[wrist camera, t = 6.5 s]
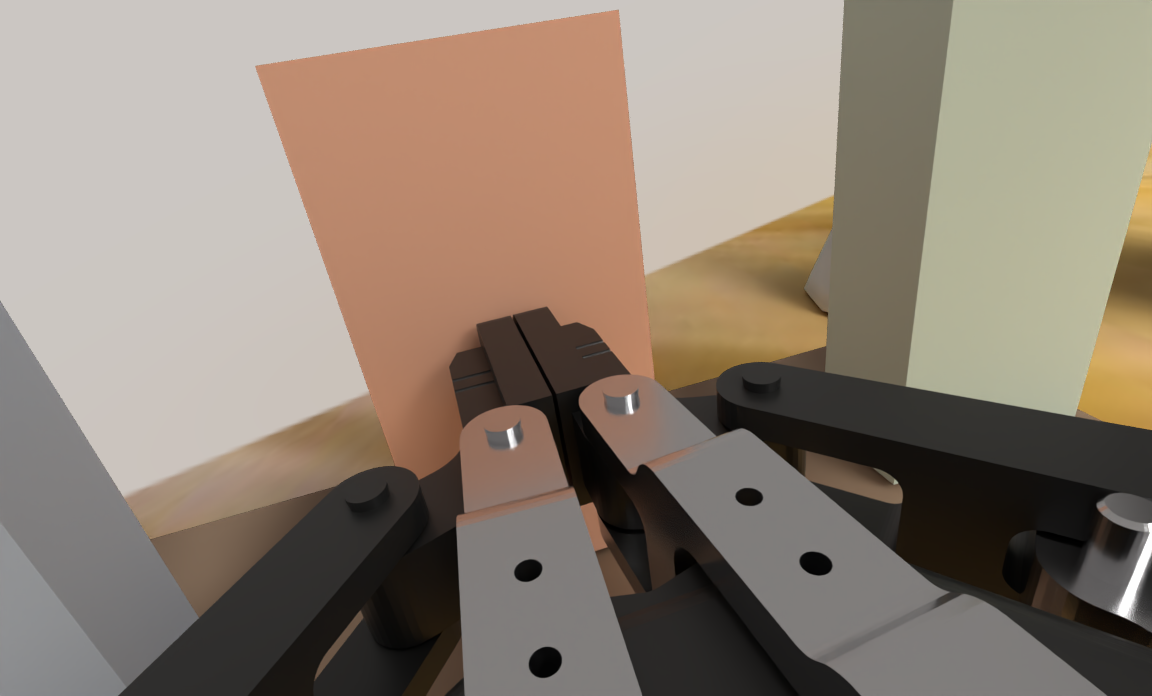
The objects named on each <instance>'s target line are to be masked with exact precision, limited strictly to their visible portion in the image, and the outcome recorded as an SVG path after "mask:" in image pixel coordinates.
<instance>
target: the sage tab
mask: <svg viewBox="0 0 1152 696" xmlns="http://www.w3.org/2000/svg"><path fill="white" fill-rule="evenodd" d="M841 56H842V57H841V75H840V93H839V113H838V132H837V152H836V171H835V191H834V210H833V229H832V248H831V268H830V287H829V306H828V326H827V345H826V364H825V372H827V373H833V374H839V375H844V376H850V377H855V378H861V379H867V380H872V381H878V382H883V383H889V384H895V385H900V386H906V387H911V388H917V389H923V390H928V391H934V392H940V393H945V394H951V395H956V396H962V397H968V398H973V399H979V400H984V401H990V402H996V403H1001V404H1007V405H1013V406H1018V407H1024V408H1029V409H1035V410H1041V411H1046V412H1052V413H1057V414H1063V415H1069V416H1074V417H1075V415H1076V411H1077V408H1078V404H1079V400H1080V397H1081V393H1082V390H1083V386H1084V383H1085V379H1086V375H1087V372H1088V368H1089V365H1090V361H1091V358H1092V354H1093V350H1094V347H1095V343H1096V340H1097V336H1098V332H1099V329H1100V325H1101V322H1102V318H1103V315H1104V311H1105V307H1106V304H1107V300H1108V297H1109V293H1110V290H1111V286H1112V282H1113V279H1114V275H1115V272H1116V268H1117V265H1118V261H1119V257H1120V254H1121V250H1122V247H1123V243H1124V240H1125V236H1126V232H1127V229H1128V225H1129V222H1130V218H1131V215H1132V211H1133V207H1134V204H1135V200H1136V197H1137V193H1138V190H1139V186H1140V182H1141V179H1142V175H1143V172H1144V168H1145V165H1146V161H1147V157H1148V154H1149V150H1150V147H1151V143H1152V0H844V18H843V36H842V55H841ZM874 469H875V470H876V471H877V472H879V473H880V474H881V475H882V476H883V477H885V478H886V479H887V480H888V481H890V482H891V483H892V484H893V485H895V484H898V482H897V481H896V480H895V479H894V478H893V477H892V476H891V475H889V474H887V473H886V472H884V471H882V470H879V469H876V468H874Z"/></svg>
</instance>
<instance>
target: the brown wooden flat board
mask: <svg viewBox="0 0 1152 696" xmlns="http://www.w3.org/2000/svg"><path fill="white" fill-rule="evenodd" d="M769 363H777V364H782V365H788V366H794V367H799V368H805V369H810V370H816V371H822V372H825V364H826V346H825V347H822V348H818V349H815V350H811V351H808V352H804V353H801V354H797V355H794V356H790V357H787V358H783V359H780V360H776V361H773V362H769ZM718 378H719V377H717V378H714V379H710V380H707V381H703V382H700V383H696V384H693V385H689V386H686V387H682V388H679V389H675V390H672V391H668V392H669V393H670V394H671V395H672V396H673V397H674V398H687V397H700V396H711V395H717V393H716V382H717V379H718ZM1075 417H1080V418H1085V419H1091V420H1097V421H1101V420H1099V419H1097V418H1095V417H1093V416H1091V415H1088V414H1086V413H1084V412H1082V411H1080V410H1078V409H1077V411H1076V415H1075ZM1102 422H1103V421H1102ZM805 478H806V479H808V480H809V481H812V482H816V483H819V484H823V485H826V486H830V487H833V488H837V489H841V490H844V491H848V492H851V493H855V494H858V495H862V496H865V497H869V498H873V499H876V500H880V501H883V502H887V503H893V504H899V503H902V499H903V493H902V489H901V487H900V485H899V484H895V485H893V484H892V483H891V482H890V481H888V480H887V479H886V478H885V477H883V476H882V475H881V474H880V473H879V472H877V471H876V470H875V469H874V468H872V467H868V466H864V465H860V464H856V463H852V462H849V461H845V460H841V459H837V458H833V457H829V456H825V455H821V454H817V453H813V452H809V451H806V471H805ZM334 488H335V487H332V488H329V489H325V490H322V491H318V492H315V493H311V494H308V495H304V496H301V497H297V498H294V499H290V500H287V501H283V502H280V503H276V504H273V505H269V506H266V507H262V508H259V509H255V510H252V511H248V512H245V513H241V514H238V515H234V516H231V517H227V518H224V519H220V520H217V521H213V522H210V523H206V524H203V525H199V526H196V527H192V528H189V529H185V530H182V531H178V532H175V533H171V534H168V535H164V536H161V537H157V538H154V539H150V541H151V542H152V544H153V545H154V547H155V549H156V550H157V552H158V553H159V555H160V557H161V558H162V560H163V561H164V563H165V565H166V566H167V568H168V569H169V571H170V573H171V574H172V576H173V577H174V579H175V581H176V582H177V584H178V585H179V587H180V588H181V590H182V592H183V593H184V595H185V596H186V598H187V600H188V601H189V603H190V604H191V606H192V608H193V609H194V611H195V612H196V614H197V616H198V617H200V616H202V615H203V614H204V613H205V612H206V611H207V610H208V609H209V608H210V607H211V606H212V605H213V604H214V603H215V602H216V601H217V600H218V599H219V598H220V597H221V596H222V595H223V594H224V593H225V592H226V591H228V590H229V589H230V588H231V587H232V586H233V585H234V584H235V583H236V582H237V581H238V580H239V579H240V578H241V577H242V576H243V575H244V574H245V573H246V572H247V571H248V570H249V569H250V568H251V567H252V566H254V565H255V564H256V563H257V562H258V561H259V560H260V559H261V558H262V557H263V556H264V555H265V554H266V553H267V552H268V551H269V550H270V549H271V548H272V547H273V546H274V545H275V544H276V543H277V542H279V541H280V540H281V539H282V538H283V537H284V536H285V535H286V534H287V533H288V532H289V531H290V530H291V529H292V528H293V527H294V526H295V525H296V524H297V523H298V522H299V521H300V520H301V519H302V518H303V517H305V516H306V515H307V514H308V513H309V512H310V511H311V510H312V509H313V508H314V507H315V506H316V505H317V504H318V503H319V502H320V501H321V500H322V499H323V498H324V497H325V496H326V495H327V494H328V493H329V492H331V491H332V490H333V489H334ZM595 553H596V556H597V559H598V562H599V565H600V569H601V572H602V575H603V578H604V581H605V584H606V587H607V590H608V593H609V596H610V597H612V596H620V595H629V594H636V593H635V592H634V590H633V588H632V587H631V585H630V583H629V582H628V580H627V578H626V577H625V575H624V573H623V572H622V570H621V568H620V567H619V565H618V563H617V562H616V560H615V558H614V557H613V555H612V553H611V551H610V550H609V548H608V547H606V548H603V549H600V550H597V551H595ZM363 618H364V617H363V615H362V613H361V611H359V613H358V614H357V615H356V616H355V618H354V619H353V620H352V621H351V623H350V624H349V625H348V626H347V628H346V629H345V630H344V631H343V633H342V634H341V635H340V637H339V638H338V639H337V640H336V642H335V643H334V644H333V645H332V647H331V648H330V649H329V650H328V652H327V653H326V655H325V656H324V658H323V659H322V661H321V663H320V665H319V667H318V670H317V673H316V676H315V679H316V678H317V677H318V676H319V674H320V673H321V672H322V670H323V669H324V668H325V667H326V665H327V664H328V663H329V661H330V660H331V659H332V658H333V656H334V655H335V654H336V652H337V651H338V650H339V649H340V647H341V646H342V645H343V643H344V642H345V641H346V640H347V638H348V637H349V636H350V634H351V633H352V632H353V631H354V629H355V628H356V627H357V625H358V624H359V623H360V622H361V620H362V619H363ZM463 677H464V670H463V650H462V636H461V638H460V640H459V642H458V643H457V645H456V647H455V648H454V650H453V652H452V653H451V655H450V657H449V658H448V660H447V662H446V663H445V665H444V667H443V668H442V670H441V672H440V673H439V675H438V677H437V678H436V680H435V682H434V683H433V685H432V687H431V688H430V690H429V692H428V693H427V695H426V696H445V694H446V693H447V692H448V691H449V690H451V689H452V688H453V687H454V686H455V685H456V684H457V683H458V682H459V681H460V680H461V679H462V678H463ZM314 681H315V680H314Z"/></svg>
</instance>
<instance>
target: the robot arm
mask: <svg viewBox="0 0 1152 696" xmlns="http://www.w3.org/2000/svg"><path fill="white" fill-rule="evenodd" d="M476 328H477V332H478V337H479V341H480V345H481V347H478V348H474V349H470V350H466V351H462V352H458V353H456V355H455V357H454V359H453V360H452V362H451V364H450V366H449V369H450V374H451V378H452V383H453V387H454V391H455V396H456V400H457V405H458V409H459V414H460V418H461V422H462V427H463V430H462V432H461V434H460V440H459V441H460V450H459V452H458V453H457V455H456V456H455V457H454V458H453V459H452V460H451V461H450V462H448V463H447V464H446V465H444V466H443V467H442V468H440V469H438V470H437V471H435V472H433V473H431V474H429V475H427V476H426V477H424V478H422V479H420V480H418V478H417V476H416V475H415V474H414V473H413V472H412V471H411V470H408V469H406V468H403V467H397V466H384V467H378V468H373V469H369V470H366V471H364V472H361V473H358V474H356V475H354V476H352V477H350V478H348V479H347V480H345V481H343V482H342V483H340V484H339V485H338V486H336V487H335V488H334V489H333V490H332V491H331V492H329V493H328V494H327V495H326V496H325V497H324V498H323V499H322V500H321V501H320V502H319V503H318V504H317V505H316V506H315V507H314V508H313V509H312V510H311V511H310V512H309V513H308V514H307V515H306V516H305V517H303V518H302V519H301V520H300V521H299V522H298V523H297V524H296V525H295V526H294V527H293V528H292V529H291V530H290V531H289V532H288V533H287V534H286V535H285V536H284V537H283V538H282V539H281V540H280V541H279V542H277V543H276V544H275V545H274V546H273V547H272V548H271V549H270V550H269V551H268V552H267V553H266V554H265V555H264V556H263V557H262V558H261V559H260V560H259V561H258V562H257V563H256V564H255V565H254V566H252V567H251V568H250V569H249V570H248V571H247V572H246V573H245V574H244V575H243V576H242V577H241V578H240V579H239V580H238V581H237V582H236V583H235V584H234V585H233V586H232V587H231V588H230V589H229V590H228V591H226V592H225V593H224V594H223V595H222V596H221V597H220V598H219V599H218V600H217V601H216V602H215V603H214V604H213V605H212V606H211V607H210V608H209V609H208V610H207V611H206V612H205V613H204V614H203V615H202V616H200V617H199V618H198V619H197V620H196V621H195V622H194V623H193V624H192V625H191V626H190V627H189V628H188V629H187V630H186V631H185V632H184V633H183V634H182V635H181V636H180V637H179V638H178V639H177V640H175V641H174V642H173V643H172V644H171V645H170V646H169V647H168V648H167V649H166V650H165V651H164V652H163V653H162V654H161V655H160V656H159V657H158V658H157V659H156V660H155V661H154V662H153V663H152V664H151V665H149V666H148V667H147V668H146V669H145V670H144V671H143V672H142V673H141V674H140V675H139V676H138V677H137V678H136V679H135V680H134V681H133V682H132V683H131V684H130V685H129V686H128V687H127V688H126V689H125V690H123V691H122V692H121V693H120V694H119V695H118V696H426V695H427V693H428V692H429V690H430V688H431V687H432V685H433V683H434V682H435V680H436V678H437V677H438V675H439V673H440V672H441V670H442V668H443V667H444V665H445V663H446V662H447V660H448V658H449V657H450V655H451V653H452V652H453V650H454V648H455V647H456V645H457V643H458V642H459V640H460V638H461V636H462V650H463V670H464V677H463V678H462V679H461V680H460V681H459V682H458V683H457V684H456V685H455V686H454V687H453V688H452V689H451V690H449V691H448V692H447V693H446V694H445V696H1152V430H1147V429H1142V428H1136V427H1130V426H1125V425H1119V424H1114V423H1108V422H1102V421H1097V420H1091V419H1085V418H1080V417H1074V416H1069V415H1063V414H1057V413H1052V412H1046V411H1041V410H1035V409H1029V408H1024V407H1018V406H1013V405H1007V404H1001V403H996V402H990V401H984V400H979V399H973V398H968V397H962V396H956V395H951V394H945V393H940V392H934V391H928V390H923V389H917V388H911V387H906V386H900V385H895V384H889V383H883V382H878V381H872V380H867V379H861V378H855V377H850V376H844V375H839V374H833V373H827V372H822V371H816V370H810V369H805V368H799V367H794V366H788V365H782V364H777V363H769V362H753V363H746V364H741V365H738V366H734V367H732V368H730V369H728V370H726V371H725V372H723V373H722V374H721V375H720V376H719V378H718V379H717V382H716V393H717V395H711V396H700V397H687V398H674V397H673V396H672V395H671V394H670V393H669V392H668V391H667V390H666V389H665V388H664V387H663V386H662V385H660V384H659V383H658V382H657V381H655V380H653V379H651V378H648V377H645V376H640V375H631V374H630V373H629V371H628V370H627V369H626V368H625V366H624V365H623V364H622V363H621V362H620V360H619V359H618V358H617V357H616V355H615V354H614V353H613V352H612V351H610V348H609V347H608V346H607V344H606V343H605V342H603V339H602V338H601V337H600V336H599V335H598V333H597V332H596V331H595V330H594V329H593V328H590V327H588V326H585V325H583V324H580V323H578V322H575V323H571V324H567V325H563V326H560V324H559V323H558V321H557V320H556V318H555V317H554V316H553V314H552V313H551V311H550V310H549V308H548V307H547V306H546V307H542V308H538V309H534V310H530V311H526V312H522V313H518V314H514V315H513V319H512V317H511V316H506V317H502V318H498V319H494V320H490V321H486V322H482V323H478V324H476ZM806 451H809V452H813V453H817V454H821V455H825V456H829V457H833V458H837V459H841V460H845V461H849V462H852V463H856V464H860V465H864V466H868V467H872V468H876V469H879V470H882V471H884V472H886V473H887V474H889V475H891V476H892V477H893V478H894V479H895V480H896V481H897V482H898V484H899V485H900V487H901V489H902V493H903V499H902V503H899V504H893V503H887V502H883V501H880V500H876V499H873V498H869V497H865V496H862V495H858V494H855V493H851V492H848V491H844V490H841V489H837V488H833V487H830V486H826V485H823V484H819V483H816V482H812V481H809V480H808V479H806V478H805V471H806ZM592 502H593V504H594V506H595V508H596V510H597V514H598V520H599V526H600V532H601V536H602V538H603V540H604V541H605V543H606V545H607V546H608V548H609V550H610V551H611V553H612V555H613V557H614V558H615V560H616V562H617V563H618V565H619V567H620V568H621V570H622V572H623V573H624V575H625V577H626V578H627V580H628V582H629V583H630V585H631V587H632V588H633V590H634V592H635V593H636V594H629V595H620V596H612V597H610V596H609V593H608V590H607V587H606V584H605V581H604V578H603V575H602V572H601V569H600V565H599V562H598V559H597V556H596V553H595V550H594V547H593V544H592V541H591V538H590V535H589V532H588V529H587V526H586V523H585V520H584V517H583V514H582V511H581V508H580V506H582V505H586V504H589V503H592ZM359 611H361V613H362V615H363V617H364V618H363V619H362V620H361V622H360V623H359V624H358V625H357V627H356V628H355V629H354V631H353V632H352V633H351V634H350V636H349V637H348V638H347V640H346V641H345V642H344V643H343V645H342V646H341V647H340V649H339V650H338V651H337V652H336V654H335V655H334V656H333V658H332V659H331V660H330V661H329V663H328V664H327V665H326V667H325V668H324V669H323V670H322V672H321V673H320V674H319V676H318V677H317V678H316V679H315V676H316V673H317V670H318V667H319V665H320V663H321V661H322V659H323V658H324V656H325V655H326V653H327V652H328V650H329V649H330V648H331V647H332V645H333V644H334V643H335V642H336V640H337V639H338V638H339V637H340V635H341V634H342V633H343V631H344V630H345V629H346V628H347V626H348V625H349V624H350V623H351V621H352V620H353V619H354V618H355V616H356V615H357V614H358V613H359ZM314 680H315V681H314Z"/></svg>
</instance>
